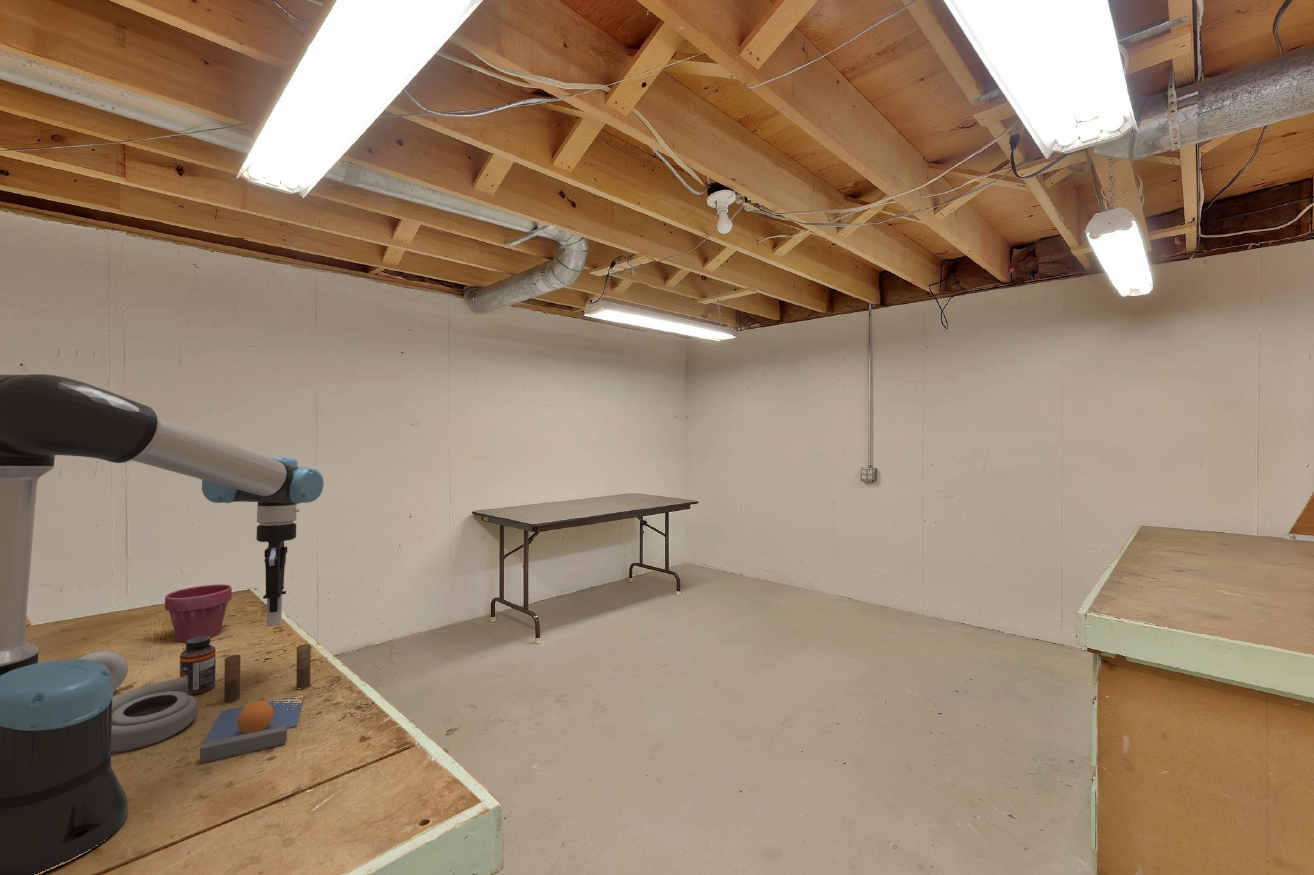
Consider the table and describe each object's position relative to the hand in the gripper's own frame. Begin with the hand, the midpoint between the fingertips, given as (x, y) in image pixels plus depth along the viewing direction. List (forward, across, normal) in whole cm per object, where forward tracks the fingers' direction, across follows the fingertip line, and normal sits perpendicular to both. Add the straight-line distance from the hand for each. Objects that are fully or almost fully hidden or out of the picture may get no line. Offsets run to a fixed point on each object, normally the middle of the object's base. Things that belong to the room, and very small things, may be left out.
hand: (273, 624), depth 121 cm
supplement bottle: (+13, +1, +13) cm, 18 cm away
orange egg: (+10, -26, -1) cm, 28 cm away
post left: (+13, -8, +6) cm, 16 cm away
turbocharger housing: (+13, -15, +18) cm, 27 cm away
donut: (+13, +6, +31) cm, 34 cm away
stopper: (+13, -32, -1) cm, 35 cm away
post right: (+12, -8, -7) cm, 16 cm away
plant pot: (+12, +42, +22) cm, 49 cm away
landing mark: (+13, -20, -1) cm, 24 cm away
